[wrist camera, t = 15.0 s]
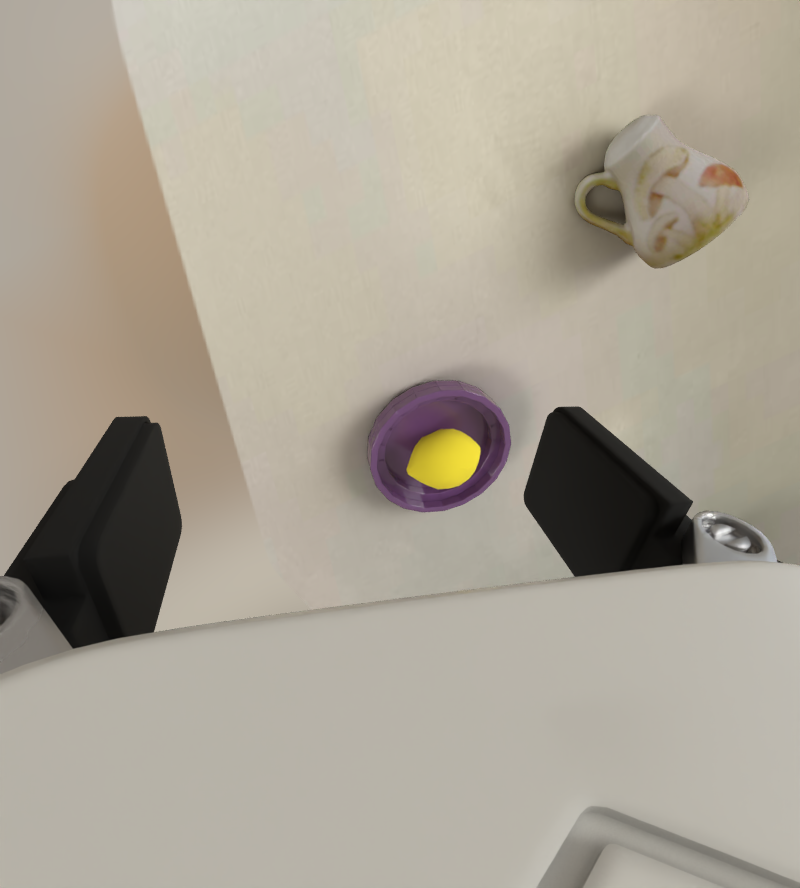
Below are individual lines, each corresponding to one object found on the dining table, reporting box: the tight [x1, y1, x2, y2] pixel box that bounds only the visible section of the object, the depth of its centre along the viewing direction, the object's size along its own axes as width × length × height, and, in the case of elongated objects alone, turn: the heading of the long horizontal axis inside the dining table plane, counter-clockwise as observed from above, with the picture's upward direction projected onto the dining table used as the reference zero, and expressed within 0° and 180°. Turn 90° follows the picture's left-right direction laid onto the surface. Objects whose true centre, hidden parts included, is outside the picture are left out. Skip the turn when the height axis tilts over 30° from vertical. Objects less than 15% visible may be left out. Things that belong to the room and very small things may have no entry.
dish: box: [367, 381, 511, 512], centre depth 41 cm, size 13×13×3 cm
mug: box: [574, 115, 749, 268], centre depth 31 cm, size 8×10×10 cm
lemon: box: [406, 429, 481, 489], centre depth 40 cm, size 7×5×5 cm
